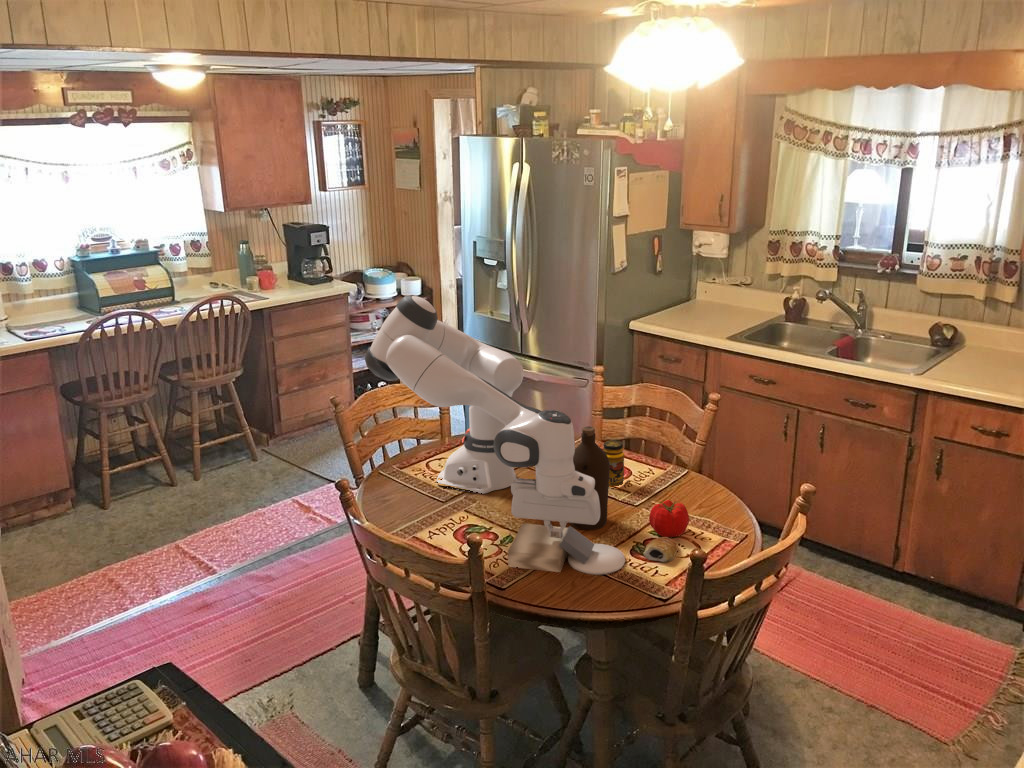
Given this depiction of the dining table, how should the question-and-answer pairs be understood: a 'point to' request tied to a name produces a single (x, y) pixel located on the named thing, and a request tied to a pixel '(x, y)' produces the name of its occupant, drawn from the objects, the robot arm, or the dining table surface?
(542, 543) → the beige flat square block
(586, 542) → the grey rounded eraser
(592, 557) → the plate
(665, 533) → the tomato
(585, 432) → the olive oil
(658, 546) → the pastry
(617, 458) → the condiment
